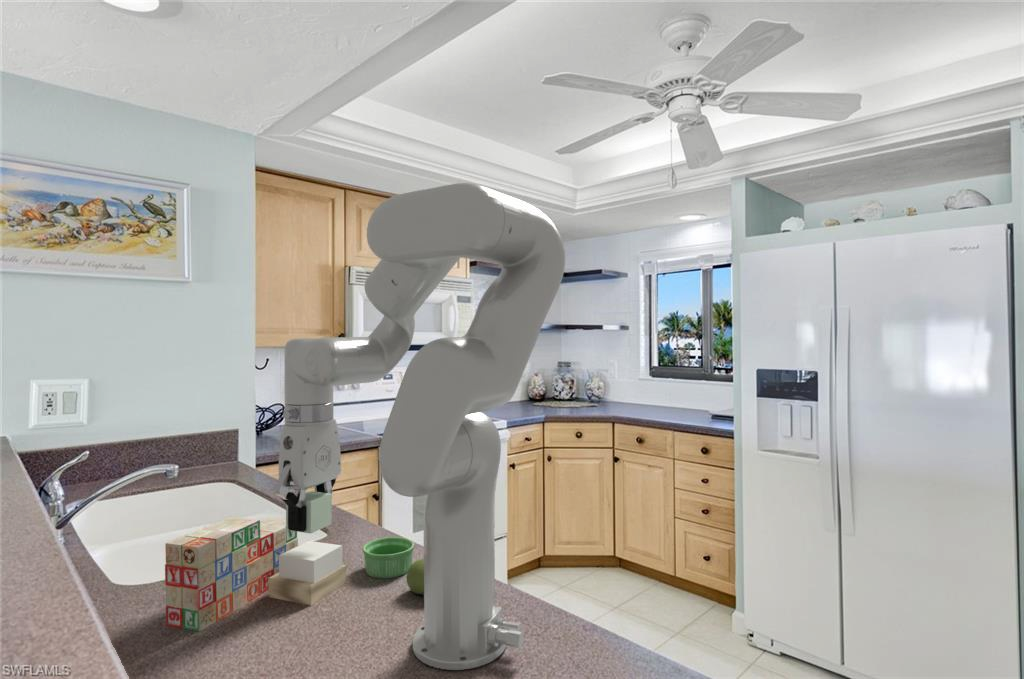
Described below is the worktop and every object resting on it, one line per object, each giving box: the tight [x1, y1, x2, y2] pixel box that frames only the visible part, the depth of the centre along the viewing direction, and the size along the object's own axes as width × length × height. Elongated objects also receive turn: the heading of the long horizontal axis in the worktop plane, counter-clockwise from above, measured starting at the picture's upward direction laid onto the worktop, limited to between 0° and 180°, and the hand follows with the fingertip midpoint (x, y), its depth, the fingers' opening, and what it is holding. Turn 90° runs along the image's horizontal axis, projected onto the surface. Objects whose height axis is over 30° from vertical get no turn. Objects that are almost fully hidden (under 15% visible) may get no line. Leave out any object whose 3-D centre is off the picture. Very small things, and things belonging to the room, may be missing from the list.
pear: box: [406, 558, 424, 596], centre depth 91 cm, size 6×5×10 cm
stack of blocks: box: [164, 516, 299, 632], centre depth 91 cm, size 21×6×12 cm, turn 162°
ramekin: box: [362, 536, 415, 579], centre depth 101 cm, size 9×9×4 cm
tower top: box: [279, 540, 344, 583], centre depth 93 cm, size 7×7×4 cm
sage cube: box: [285, 490, 333, 534], centre depth 92 cm, size 5×5×5 cm
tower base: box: [268, 564, 347, 606], centre depth 93 cm, size 8×8×4 cm
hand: (309, 523), depth 92 cm, fingers closed on sage cube, 4 cm apart
